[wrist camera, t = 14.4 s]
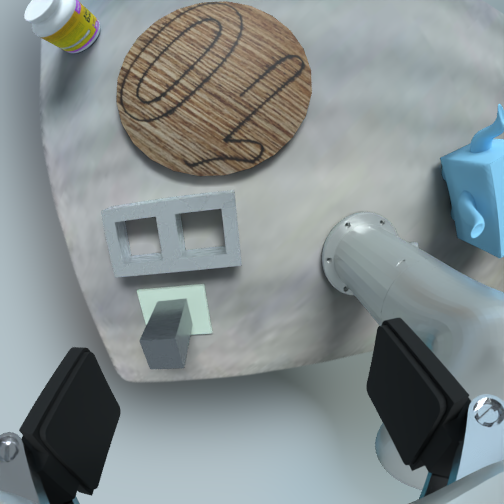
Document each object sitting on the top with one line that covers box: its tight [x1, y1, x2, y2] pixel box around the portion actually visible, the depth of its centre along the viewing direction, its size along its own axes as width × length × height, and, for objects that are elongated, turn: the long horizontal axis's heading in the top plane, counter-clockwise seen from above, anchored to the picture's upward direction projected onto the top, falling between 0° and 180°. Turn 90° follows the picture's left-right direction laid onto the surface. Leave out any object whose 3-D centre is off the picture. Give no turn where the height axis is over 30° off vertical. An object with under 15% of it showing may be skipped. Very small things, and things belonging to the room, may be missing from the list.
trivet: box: [117, 2, 312, 176], centre depth 31 cm, size 25×25×2 cm
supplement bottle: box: [24, 0, 100, 53], centre depth 21 cm, size 7×7×13 cm
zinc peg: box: [140, 298, 193, 369], centre depth 36 cm, size 4×4×10 cm
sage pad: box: [137, 284, 212, 335], centre depth 41 cm, size 10×8×1 cm
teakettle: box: [440, 104, 504, 258], centre depth 31 cm, size 19×19×15 cm
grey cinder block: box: [101, 190, 242, 277], centre depth 36 cm, size 17×9×4 cm, turn 95°
